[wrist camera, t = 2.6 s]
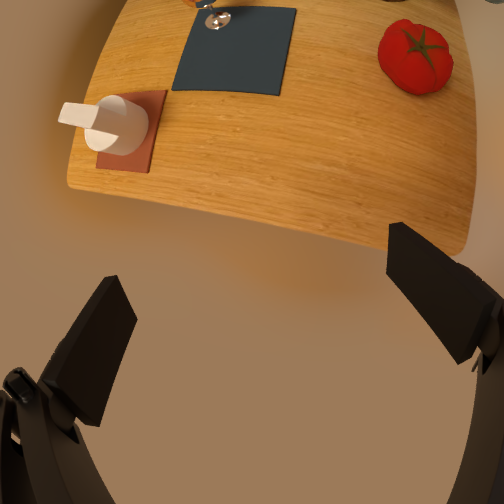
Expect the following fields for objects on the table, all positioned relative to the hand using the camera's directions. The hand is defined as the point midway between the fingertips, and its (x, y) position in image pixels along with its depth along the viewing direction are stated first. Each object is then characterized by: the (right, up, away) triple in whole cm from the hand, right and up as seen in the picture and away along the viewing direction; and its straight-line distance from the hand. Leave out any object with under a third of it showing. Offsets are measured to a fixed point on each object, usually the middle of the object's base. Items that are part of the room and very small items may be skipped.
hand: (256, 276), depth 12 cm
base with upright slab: (-21, +21, +26) cm, 40 cm away
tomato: (+23, +28, +16) cm, 40 cm away
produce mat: (-21, +21, +26) cm, 40 cm away
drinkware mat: (-3, +33, +21) cm, 39 cm away
